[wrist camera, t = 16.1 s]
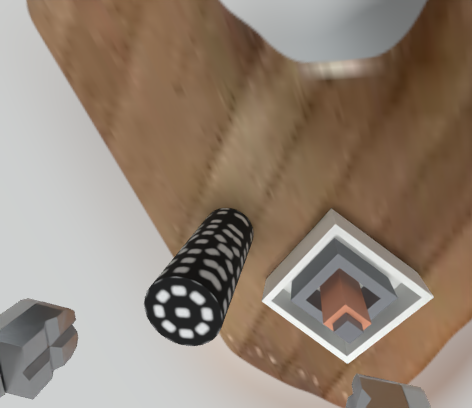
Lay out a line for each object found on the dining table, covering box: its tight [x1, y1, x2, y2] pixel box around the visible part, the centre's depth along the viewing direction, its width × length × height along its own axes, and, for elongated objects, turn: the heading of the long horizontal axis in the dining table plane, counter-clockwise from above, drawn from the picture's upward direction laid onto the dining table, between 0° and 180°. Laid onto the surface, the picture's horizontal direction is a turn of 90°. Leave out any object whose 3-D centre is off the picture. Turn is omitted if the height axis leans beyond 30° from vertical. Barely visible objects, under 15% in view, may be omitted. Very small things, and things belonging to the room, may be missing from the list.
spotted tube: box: [144, 208, 253, 346], centre depth 40 cm, size 8×8×20 cm
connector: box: [320, 268, 372, 344], centre depth 41 cm, size 4×4×12 cm
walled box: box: [262, 208, 434, 364], centre depth 44 cm, size 16×16×6 cm
